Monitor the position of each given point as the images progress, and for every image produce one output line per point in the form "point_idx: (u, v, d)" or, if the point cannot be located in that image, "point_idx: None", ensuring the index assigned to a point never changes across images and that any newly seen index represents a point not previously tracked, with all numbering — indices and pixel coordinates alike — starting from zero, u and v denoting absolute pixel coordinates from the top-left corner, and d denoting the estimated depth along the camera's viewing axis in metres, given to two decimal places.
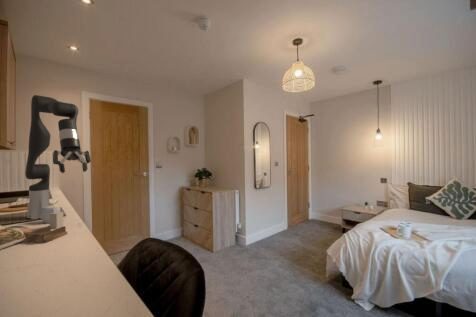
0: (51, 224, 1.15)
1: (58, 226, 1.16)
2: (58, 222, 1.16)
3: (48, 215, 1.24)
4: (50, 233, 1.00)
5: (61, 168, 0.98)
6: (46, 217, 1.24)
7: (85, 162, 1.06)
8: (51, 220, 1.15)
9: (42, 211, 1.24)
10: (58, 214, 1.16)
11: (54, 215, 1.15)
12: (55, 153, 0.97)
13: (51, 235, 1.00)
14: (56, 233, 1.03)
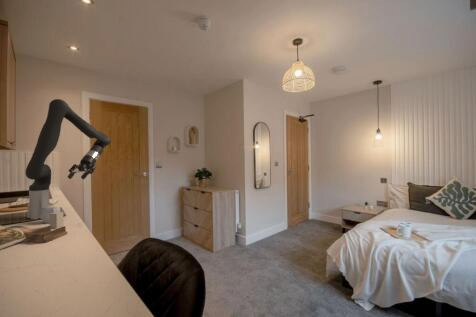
0: (51, 224, 1.15)
1: (58, 226, 1.16)
2: (58, 222, 1.16)
3: (48, 215, 1.24)
4: (50, 233, 1.00)
5: None
6: (46, 217, 1.24)
7: (73, 174, 1.33)
8: (51, 220, 1.15)
9: (42, 211, 1.24)
10: (58, 214, 1.16)
11: (54, 215, 1.15)
12: None
13: (51, 235, 1.00)
14: (56, 233, 1.03)
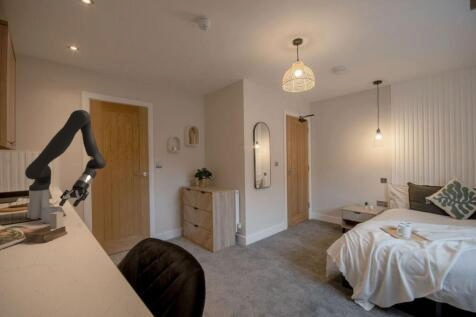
0: (51, 224, 1.15)
1: (58, 226, 1.16)
2: (58, 222, 1.16)
3: (48, 215, 1.24)
4: (50, 233, 1.00)
5: None
6: (46, 217, 1.24)
7: (65, 200, 1.27)
8: (51, 220, 1.15)
9: (42, 211, 1.24)
10: (58, 214, 1.16)
11: (54, 215, 1.15)
12: None
13: (51, 235, 1.00)
14: (56, 233, 1.03)
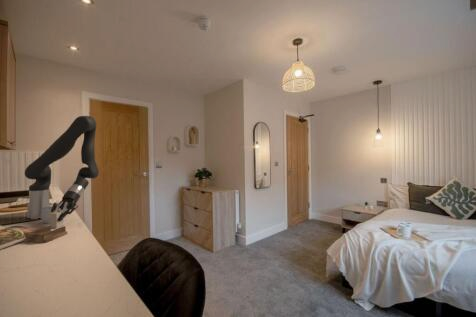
0: (51, 224, 1.15)
1: (58, 226, 1.16)
2: (58, 222, 1.16)
3: (48, 215, 1.24)
4: (50, 233, 1.00)
5: None
6: (46, 217, 1.24)
7: None
8: (51, 220, 1.15)
9: (42, 211, 1.24)
10: (58, 214, 1.16)
11: (54, 215, 1.15)
12: None
13: (51, 235, 1.00)
14: (56, 233, 1.03)
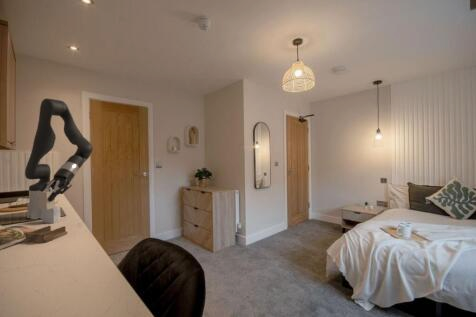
0: (40, 204, 1.01)
1: (49, 207, 1.01)
2: (48, 202, 1.01)
3: (48, 215, 1.24)
4: (50, 233, 1.00)
5: None
6: (46, 217, 1.24)
7: None
8: (41, 200, 1.00)
9: (42, 211, 1.24)
10: (48, 193, 1.01)
11: (44, 194, 1.00)
12: None
13: (51, 235, 1.00)
14: (56, 233, 1.03)
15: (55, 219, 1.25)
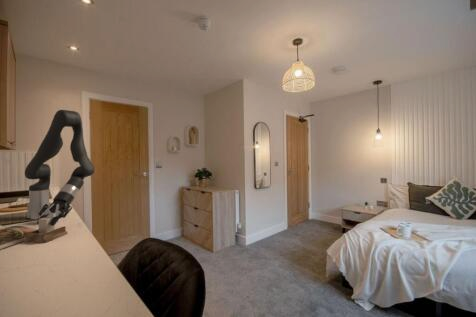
0: (40, 231, 1.01)
1: None
2: (48, 229, 1.02)
3: None
4: (50, 233, 1.00)
5: None
6: None
7: None
8: (40, 227, 1.01)
9: None
10: (48, 220, 1.02)
11: (44, 221, 1.01)
12: None
13: (51, 235, 1.00)
14: (56, 233, 1.03)
15: None
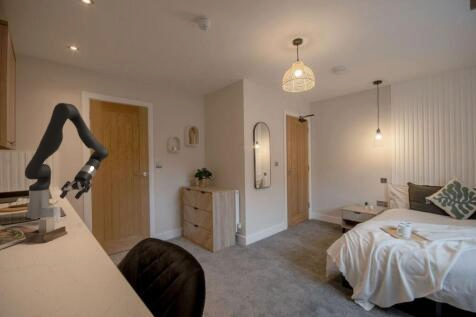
0: (40, 231, 1.01)
1: None
2: (48, 229, 1.02)
3: (48, 215, 1.24)
4: (50, 233, 1.00)
5: None
6: None
7: (66, 192, 1.19)
8: (40, 227, 1.01)
9: (42, 211, 1.24)
10: (48, 220, 1.02)
11: (44, 221, 1.01)
12: None
13: (51, 235, 1.00)
14: (56, 233, 1.03)
15: (55, 219, 1.25)
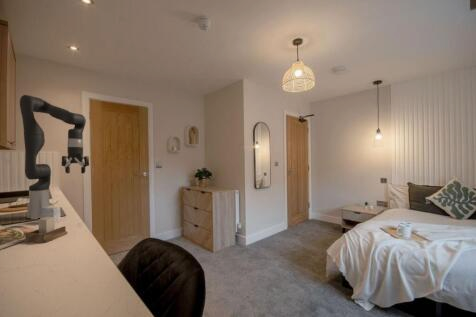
0: (40, 231, 1.01)
1: None
2: (48, 229, 1.02)
3: (48, 215, 1.24)
4: (50, 233, 1.00)
5: None
6: None
7: (68, 166, 1.31)
8: (40, 227, 1.01)
9: (42, 211, 1.24)
10: (48, 220, 1.02)
11: (44, 221, 1.01)
12: None
13: (51, 235, 1.00)
14: (56, 233, 1.03)
15: (55, 219, 1.25)
